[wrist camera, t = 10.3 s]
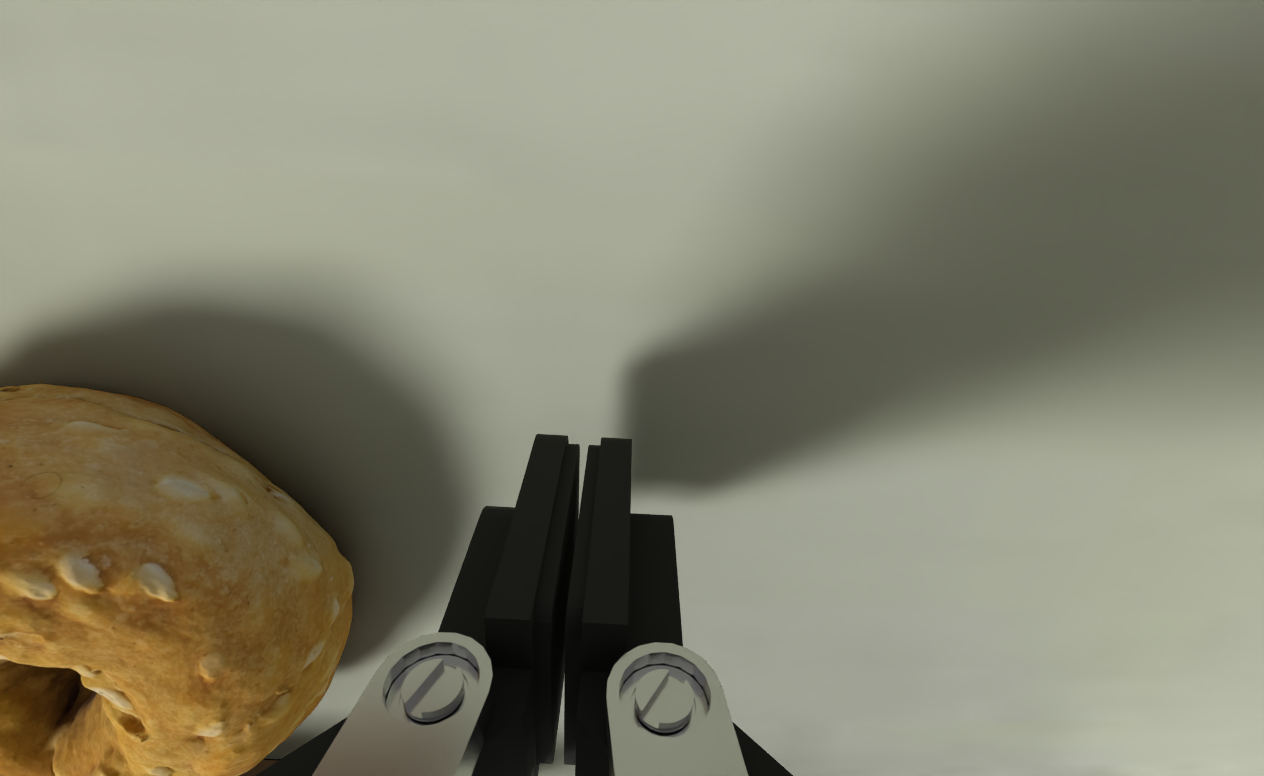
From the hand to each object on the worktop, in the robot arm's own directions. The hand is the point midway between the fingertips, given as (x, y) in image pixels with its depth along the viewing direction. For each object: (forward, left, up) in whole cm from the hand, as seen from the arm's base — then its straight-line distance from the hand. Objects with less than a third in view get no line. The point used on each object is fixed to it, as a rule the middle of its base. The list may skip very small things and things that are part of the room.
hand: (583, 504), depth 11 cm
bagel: (+10, +4, -2) cm, 11 cm away
